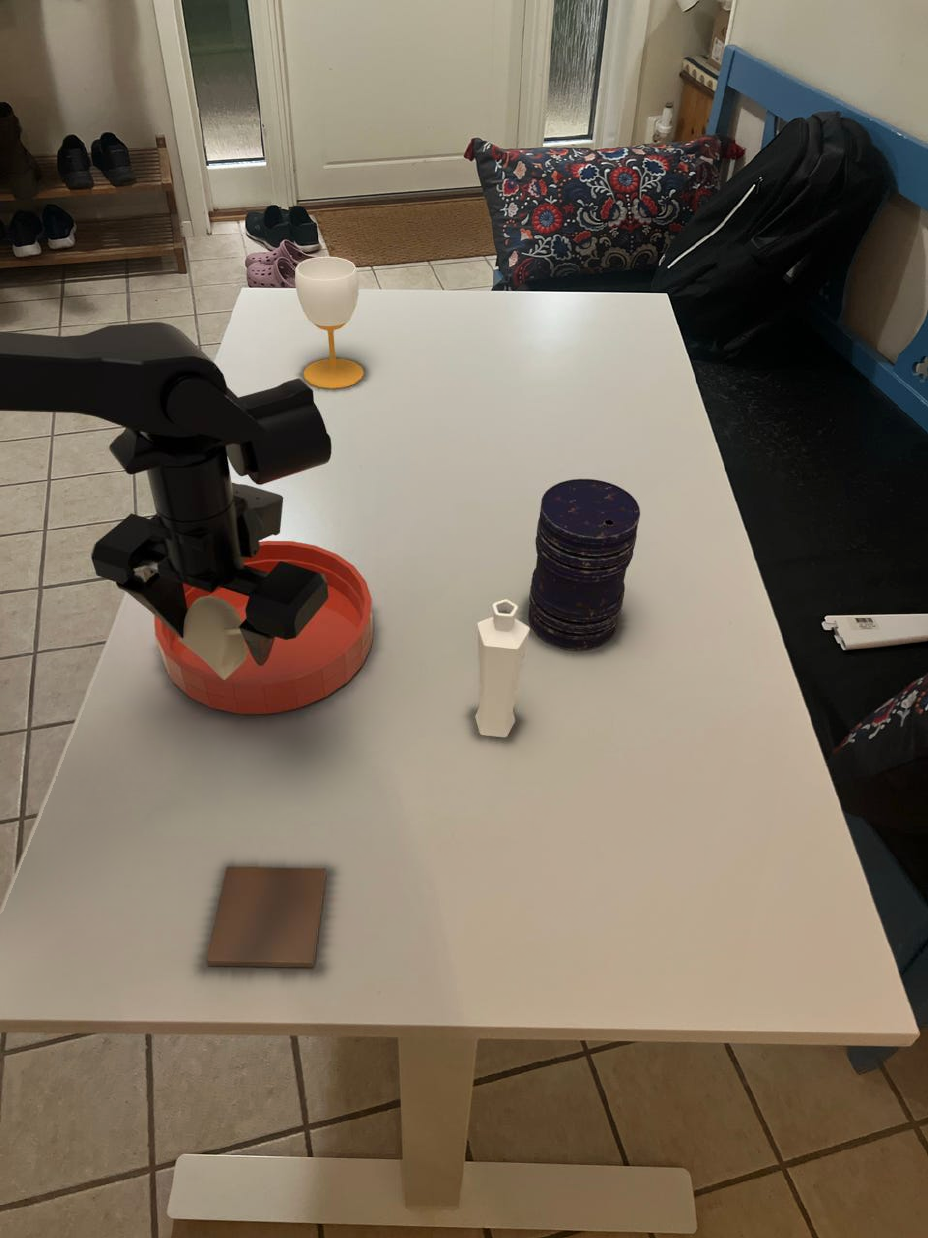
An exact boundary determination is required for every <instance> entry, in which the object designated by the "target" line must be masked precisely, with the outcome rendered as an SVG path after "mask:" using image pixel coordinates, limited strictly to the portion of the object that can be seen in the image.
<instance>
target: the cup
mask: <svg viewBox="0 0 928 1238" xmlns="http://www.w3.org/2000/svg"><path fill="white" fill-rule="evenodd" d="M294 271H295V273H294V285H295V288H296V295H297V298H298V301H299V304H300V307H301V309H302V312H303V313H304V315H305V316H306V318H307V320H308V321H309V322H310V323H312V324H313V325H314V326H316V327H317V329H318V328H319V329H320V330H324V331H327V339H328V352H329V358H326V359H321V360H317V361H313V362H312V363H311V364H309V365H308V366H306V367H305V369H304V371H303V378H304V380H305V381H306V382H308V383H309V384H310V385H312V386H314V387H318V388H321V389H330V390H331V389H332V390H335V389H342V388H343V389H344V388H347V387H350V386H353V385H356V384H357V383H358V382H360V381H361V380H362V379H363V377H364V374H365V373H364V369H363V367H362V366H361V365H360V364H358V363H357V362H355V361H352V360H348V359H346V358H345V359H344V358H336V349H335V347H336V345H335V330H339V329H341V328H343V327H344V326H345V325H346V324H347V323H348V322H349V321H350V320H351V318H352V317H353V314H354V312H355V310H356V307H357V303H358V299H359V291H360V288H359V286H360V280H359V275H358V270H357V267H356V265H355V263H353V262H351V261H350V260H349V259H346V258H342V257H337V256H317V257H316V256H315V257H312V258H307V259H305V260H303V261H301V262H299V263H298V264H297V265H296V267H295V270H294Z"/></svg>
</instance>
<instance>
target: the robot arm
mask: <svg viewBox="0 0 928 1238" xmlns="http://www.w3.org/2000/svg"><path fill="white" fill-rule="evenodd" d="M0 412H22V413H23V412H26V413H27V412H28V413H59V414H62V413H63V414H65V413H66V414H79V415H86V416H91V417H95V418H99V419H101V420H104V421H107V422H110V423H112V424H115V425H117V426H120V427H123V428H124V430H123V431H122V432H121V433H120V434H119V435H117V437H115V439H114V440H113V441H111V443H110V444H109V447H108V450H109V452H110V453H111V454H112V455H113V457H114V458H115V460H116V461H117V462H118V463H119V465H120V466H121V467H122V469H123V470H124V472H125V473H126V474H127V475H129V476H130V475H135V474H139V473H143V472H146V475H147V479H148V483H149V486H150V487H149V488H150V493H151V497H152V500H153V504H154V508H155V509H154V510H155V514H154V515H153V516H151V517H150V518H148V517H145V516H141V515H138V514H134V513H132V512H131V513H129V515H127V517H125V518H124V519H122V520H121V521H120V522H119V523H118V524H117V525H116V526H114V527H113V528H112V529H110V530H109V531H108V532H107V533H105V535H103V536H102V537H101V538H100V539H98V540H97V541H96V542H95V543H94V544H93V547H92V550H91V553H90V559H91V561H92V565H93V568H94V572H95V575H96V576H97V577H100V578H103V579H105V580H108V581H112V582H115V584H116V587H117V588H118V589H120V590H122V591H123V592H126V593H127V594H128V595H129V596H130V597H132V598H133V599H135V600H136V601H137V602H138V603H139V604H141V606H143V607H144V608H146V609H147V610H148V611H149V612H150V613H151V614H153V615H155V616H156V617H157V618H158V619H160V620H161V621H162V622H163V623H164V624H165V625H166V626H167V627H168V628H170V629H171V630H172V631H173V632H174V633H175V634H176V635H177V636H179V637H180V638H183V630H184V620H185V617H186V614H187V612H188V608H187V603H186V598H185V593H184V587H183V584H186V585H189V586H192V587H195V588H198V589H201V590H204V591H207V592H210V593H212V592H213V591H214V590H216V589H217V588H218V587H221V588H224V589H227V590H230V591H233V592H236V593H240V594H243V595H246V596H249V599H248V602H247V605H246V609H245V612H246V619H245V620H244V621H243V622H242V623H241V625H240V626H239V629H240V631H241V633H242V636H243V638H244V640H245V642H246V644H247V646H248V648H249V650H250V652H251V655H252V657H253V658H254V660H255V661H256V663H257V664H258V665H259V666H263V665H264V663H265V662H266V661H267V660H268V658H269V655H270V652H271V649H272V646H273V643H274V640H275V637H278V638H281V639H284V640H289V639H293V638H296V637H297V636H298V635H299V634H300V632H301V631H302V630H303V629H304V627H305V626H306V625H307V624H308V623H309V621H310V620H311V619H312V618H313V616H314V615H315V614H316V613H317V612H318V610H319V609H320V608H321V607H322V605H323V604H324V603H325V602H326V601H327V599H328V598H329V596H328V584H327V580H326V577H325V575H324V574H321V573H318V572H315V571H312V570H309V569H306V568H303V567H299V566H296V565H293V564H290V563H287V562H284V561H280V562H279V563H278V564H277V565H276V566H275V567H274V568H273V570H272V571H271V572H270V573H268V572H265V571H262V570H259V569H256V568H253V567H249V566H246V565H244V560H245V559H246V558H247V557H248V558H251V559H252V558H253V557H254V556H255V555H256V554H257V553H258V552H259V551H260V545H259V542H261V541H263V540H264V539H266V538H269V537H270V536H277V535H279V534H281V527H282V517H283V505H284V496H282V495H281V494H279V493H276V492H272V491H269V490H265V489H262V488H259V487H255V486H252V485H248V484H242V483H237V482H232V476H231V470H230V465H231V467H232V469H233V470H234V472H235V473H236V474H237V475H238V476H239V477H245V476H248V477H249V479H250V480H251V481H252V482H253V483H255V484H256V485H259V486H262V485H264V484H268V483H271V482H274V481H277V480H280V479H283V478H286V477H289V476H292V475H296V474H298V473H301V472H305V471H308V470H311V469H314V468H317V467H320V466H324V465H326V464H327V463H329V462H330V460H331V456H332V438H331V436H330V434H329V433H328V432H327V427H326V425H325V424H326V423H325V421H324V419H323V416H322V414H321V411H320V410H319V408H318V406H317V405H316V403H315V397H314V390H313V389H312V388H311V387H310V386H309V385H308V384H307V383H305V381H303V380H302V379H301V378H295V379H291V380H288V381H287V380H286V381H285V382H282V383H281V384H279V385H277V386H275V387H271V388H267V389H263V390H260V391H256V392H253V393H249V394H246V395H242V396H239V397H238V396H237V395H236V393H235V392H233V390H231V389H230V388H229V387H228V384H227V382H226V378H225V375H224V373H223V372H222V371H221V369H220V368H219V367H218V365H217V364H216V363H215V362H214V361H213V360H212V359H211V358H210V357H209V356H208V355H207V354H206V353H205V352H204V351H203V350H201V349H200V347H199V346H197V345H196V343H195V342H193V341H192V340H191V339H190V337H189V336H187V335H186V333H184V332H183V331H181V329H179V328H178V327H176V326H174V325H172V324H169V323H166V322H162V321H161V322H160V321H151V322H149V321H148V322H137V323H123V324H112V325H107V326H103V327H101V328H99V329H96V330H93V331H90V332H88V333H83V334H78V335H63V336H59V335H48V334H38V333H37V334H35V333H23V332H13V331H11V332H10V331H0ZM229 463H230V464H229Z"/></svg>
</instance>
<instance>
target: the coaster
mask: <svg viewBox="0 0 928 1238" xmlns="http://www.w3.org/2000/svg"><path fill="white" fill-rule="evenodd" d="M224 874H225V875H224V878H223V883H222V887H221V891H220V896H219V900H218V905H217V910H216V914H215V918H214V923H213V928H212V933H211V936H210V941H209V946H208V950H207V955H206V960H205V962H206V965H207V966H208V967H251V968H253V967H255V968H256V967H258V968H260V967H261V968H263V967H265V968H314V967H315V960H316V954H317V953H316V952H317V945H318V937H319V931H320V921H321V916H322V915H321V914H322V906H323V897H324V890H325V884H326V875H327V873H326V869H325V868H320V867H319V868H317V867H316V868H315V867H309V868H308V867H270V866H269V867H267V866H226V869H225V873H224Z"/></svg>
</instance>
